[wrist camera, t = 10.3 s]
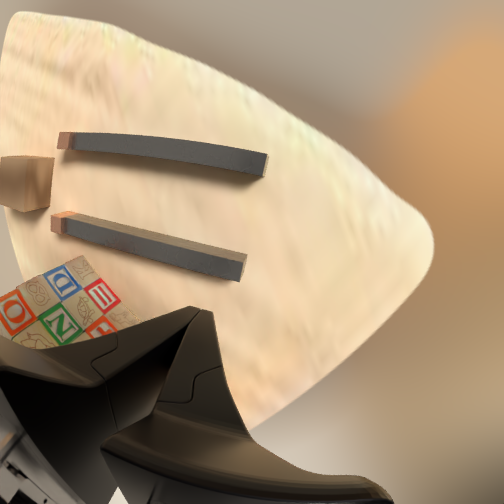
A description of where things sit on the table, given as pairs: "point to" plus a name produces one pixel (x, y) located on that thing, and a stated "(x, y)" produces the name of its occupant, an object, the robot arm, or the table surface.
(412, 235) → the table surface
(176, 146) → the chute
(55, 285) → the stack of blocks
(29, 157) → the walnut block
